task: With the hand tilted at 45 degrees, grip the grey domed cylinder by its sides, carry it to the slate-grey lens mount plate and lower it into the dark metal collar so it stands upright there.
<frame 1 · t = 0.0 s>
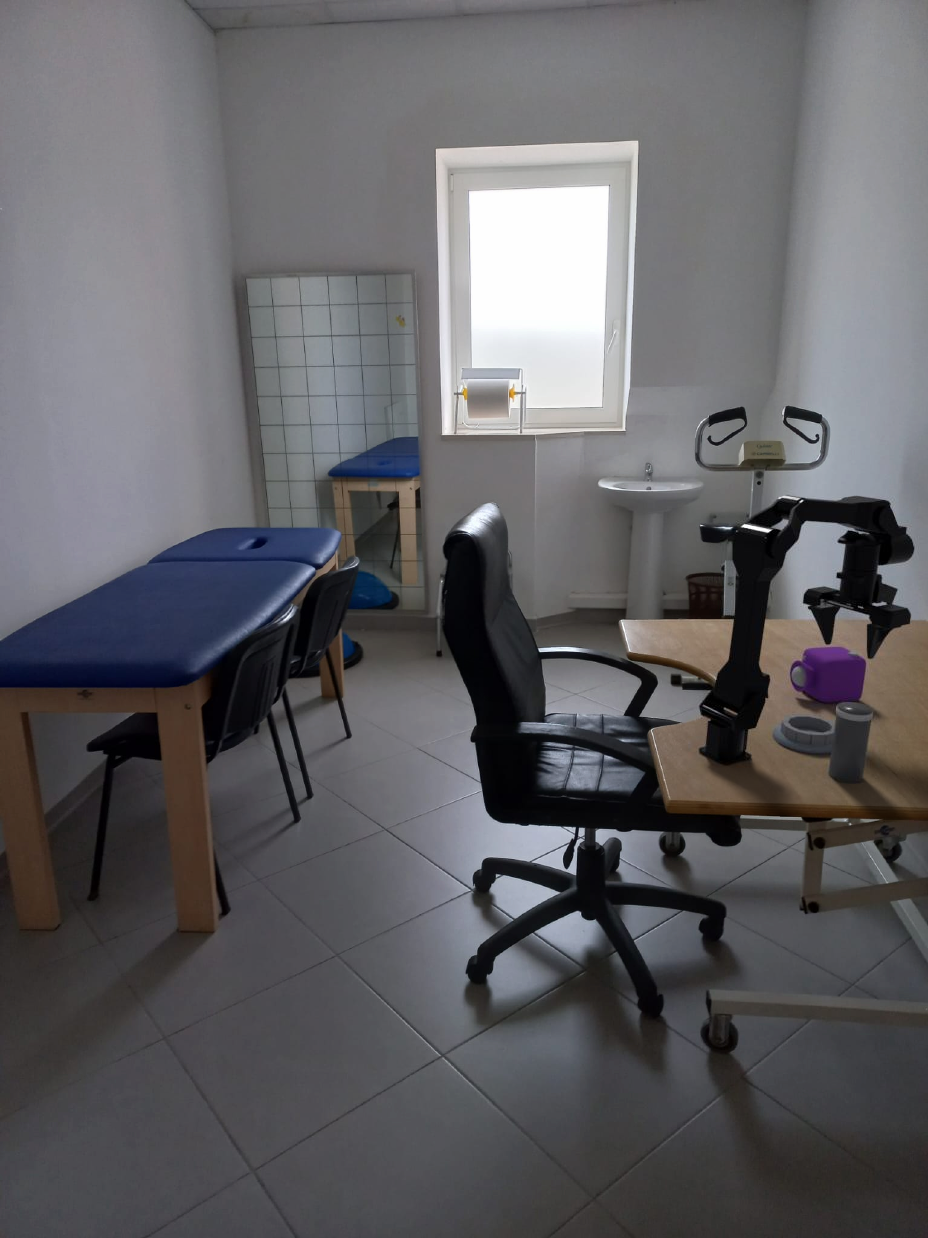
hand: (848, 651, 156), 15 cm above the table, tool pointing down, fingers open, 9 cm apart
grey domed cylinder: (845, 776, 140), on the table
toy camera: (822, 697, 174), on the table
lens mount: (807, 739, 153), on the table
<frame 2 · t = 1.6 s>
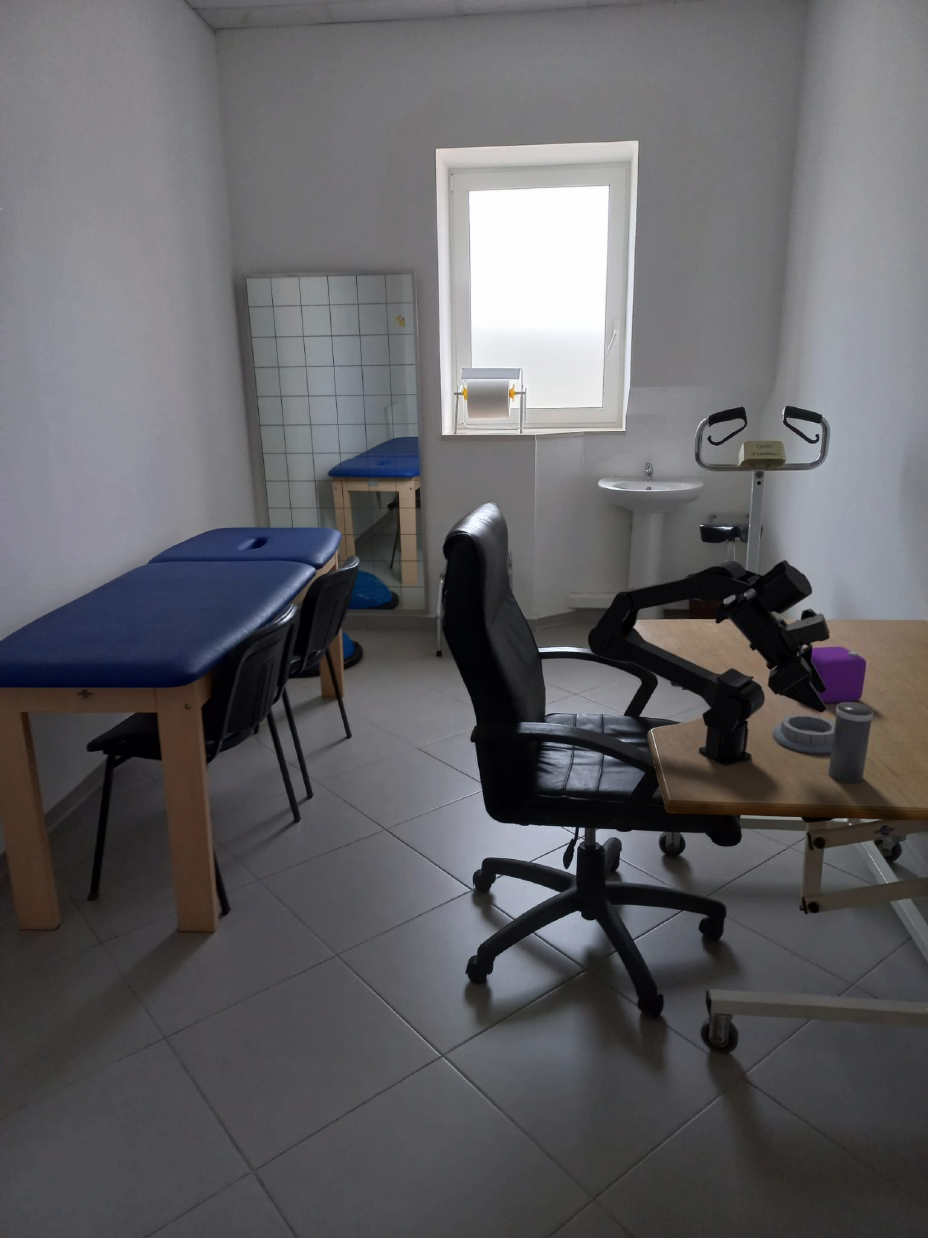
hand: (824, 700, 138), 12 cm above the table, tool tilted 45°, fingers open, 9 cm apart
nothing on the table moved.
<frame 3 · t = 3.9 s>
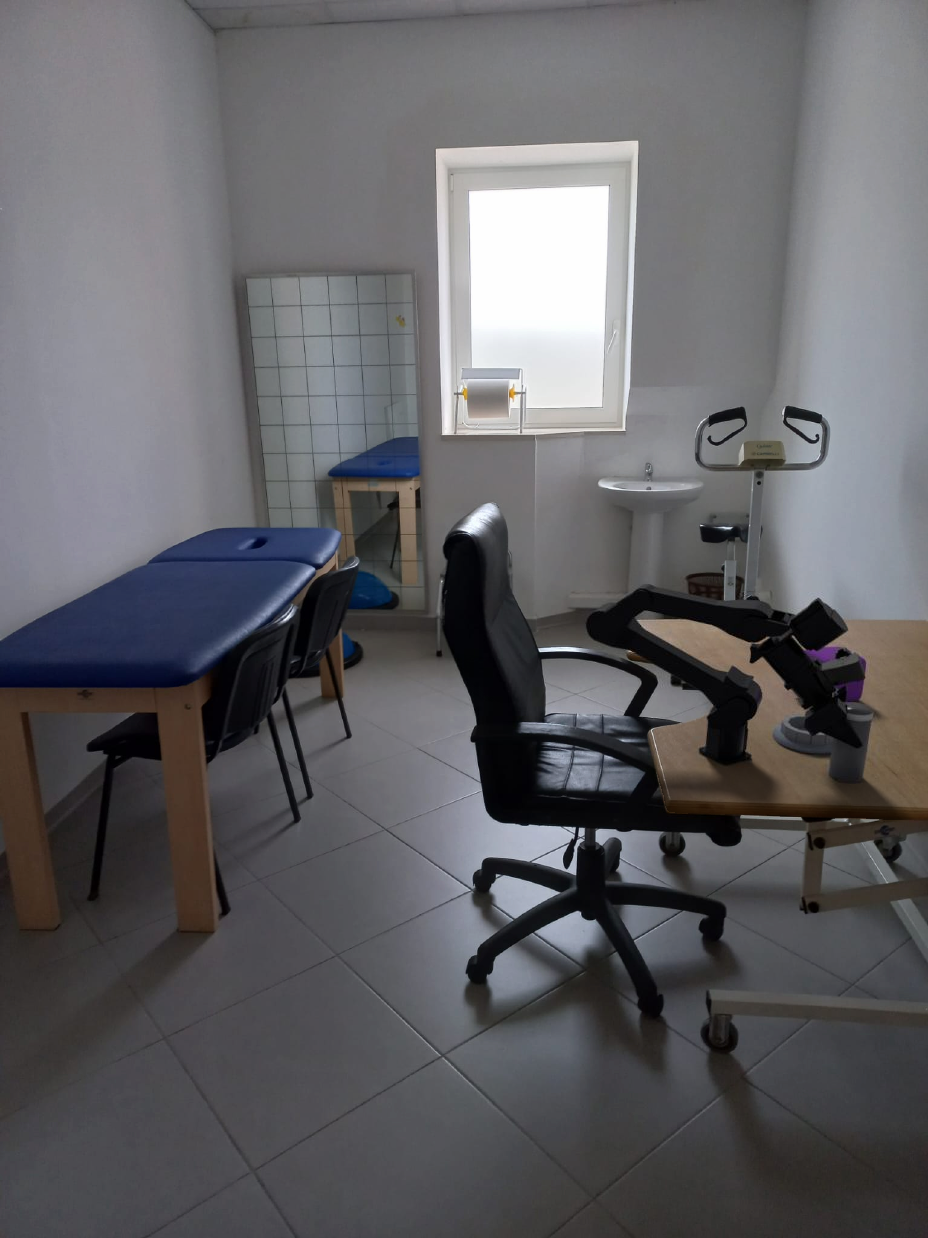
hand: (860, 740, 137), 7 cm above the table, tool tilted 45°, fingers closed on grey domed cylinder, 5 cm apart
grey domed cylinder: (845, 775, 140), on the table, touching gripper
everything else where it was.
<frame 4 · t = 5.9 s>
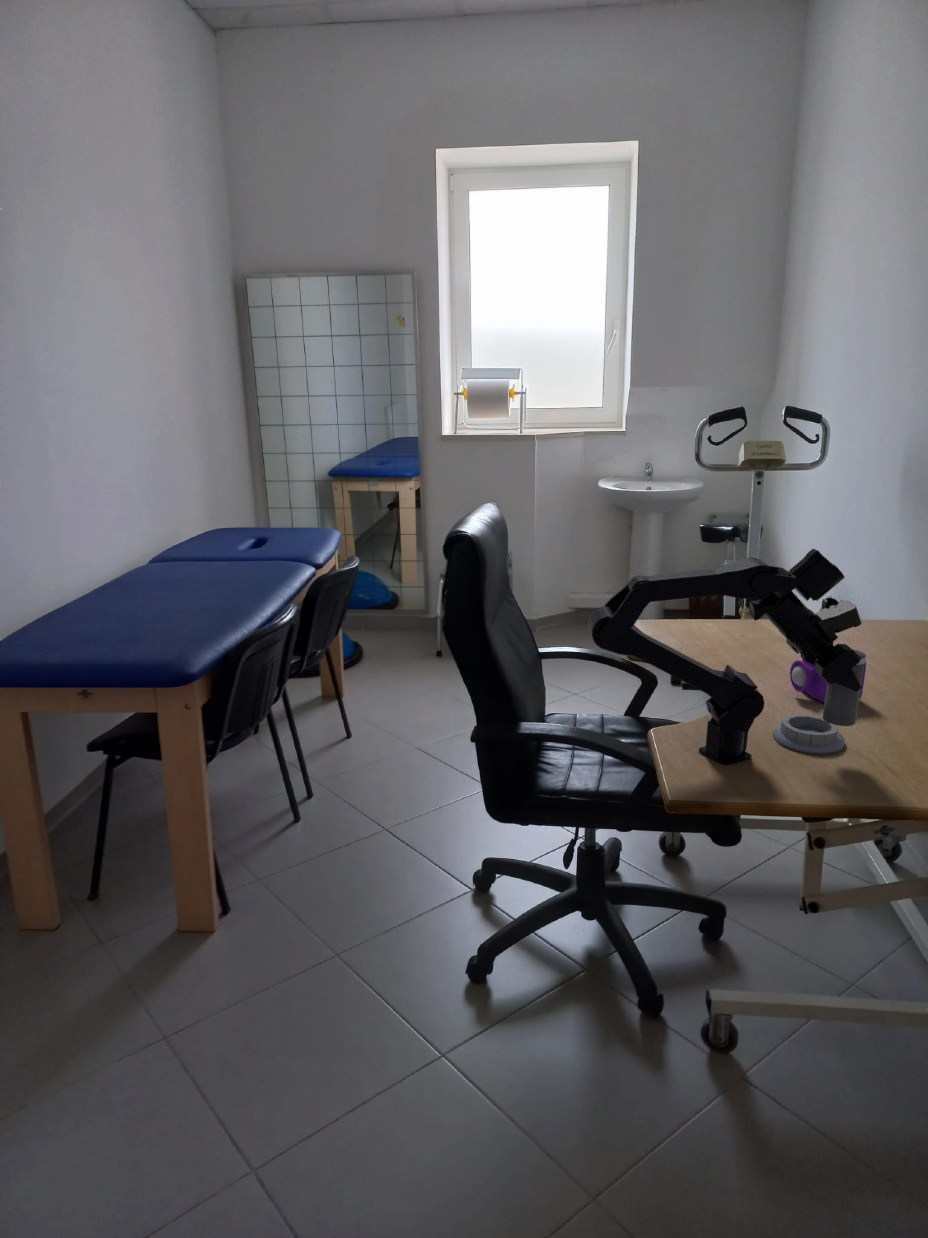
hand: (852, 683, 143), 13 cm above the table, tool tilted 45°, fingers closed on grey domed cylinder, 5 cm apart
grey domed cylinder: (838, 720, 145), point 7 cm above the table, touching gripper
everything else where it was.
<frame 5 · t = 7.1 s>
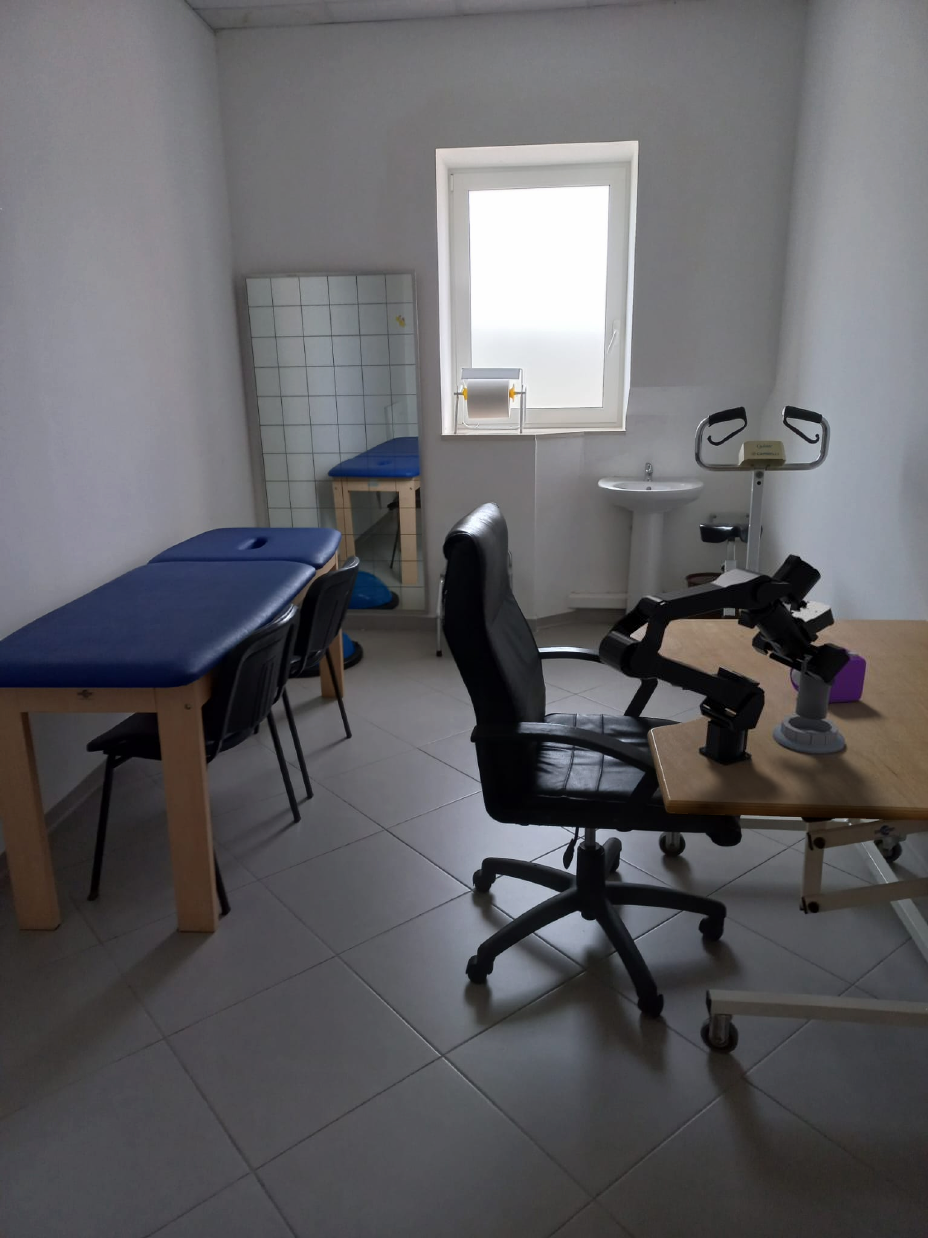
hand: (821, 678, 151), 12 cm above the table, tool tilted 45°, fingers closed on grey domed cylinder, 5 cm apart
grey domed cylinder: (810, 714, 152), point 5 cm above the table, touching gripper
everything else where it was.
when the fingers open (9 cm above the table, at t = 8.1 s): grey domed cylinder drops 1 cm, resting on lens mount.
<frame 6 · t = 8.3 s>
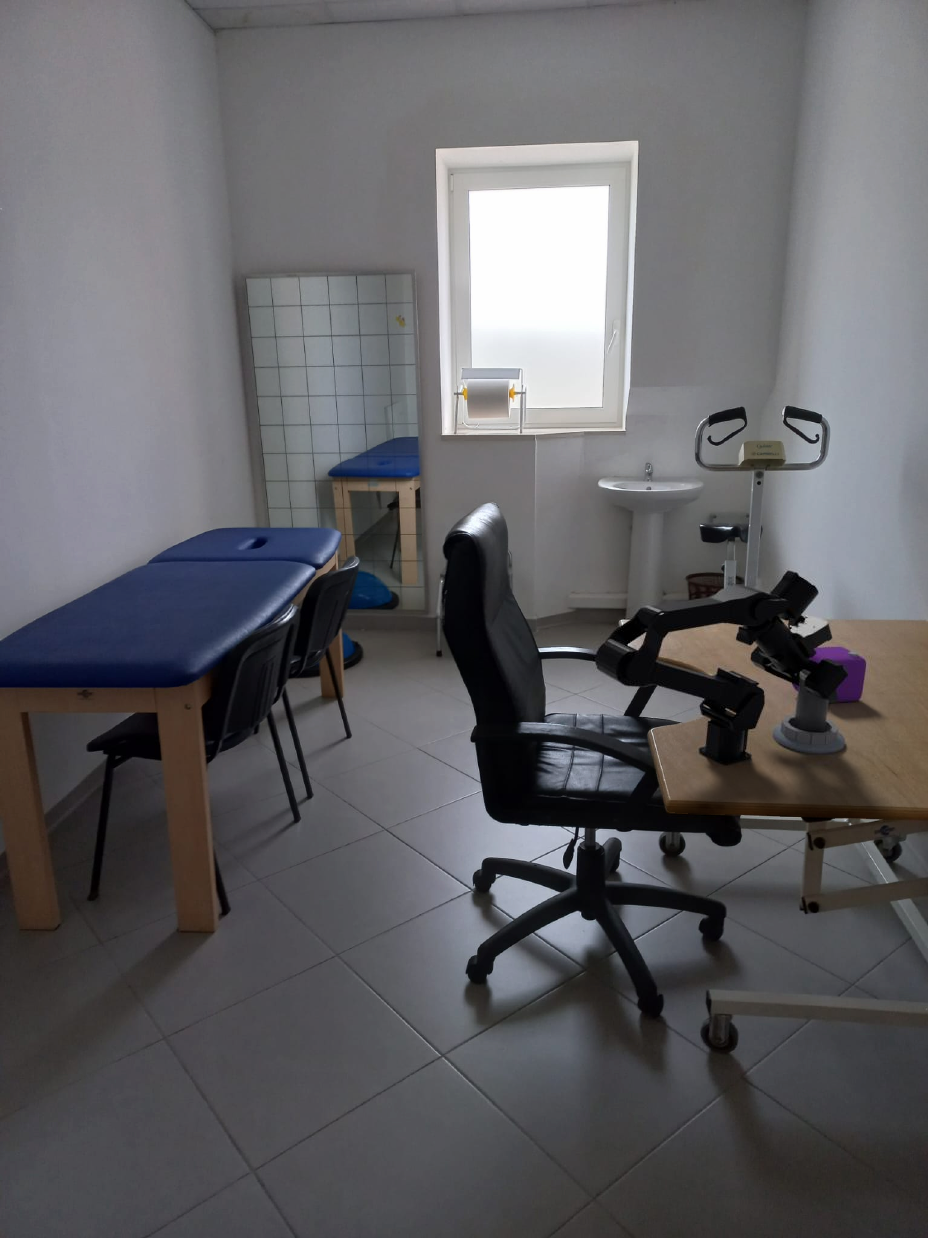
hand: (819, 692, 151), 9 cm above the table, tool tilted 45°, fingers open, 7 cm apart
grey domed cylinder: (808, 734, 153), point 1 cm above the table, touching lens mount
everything else where it was.
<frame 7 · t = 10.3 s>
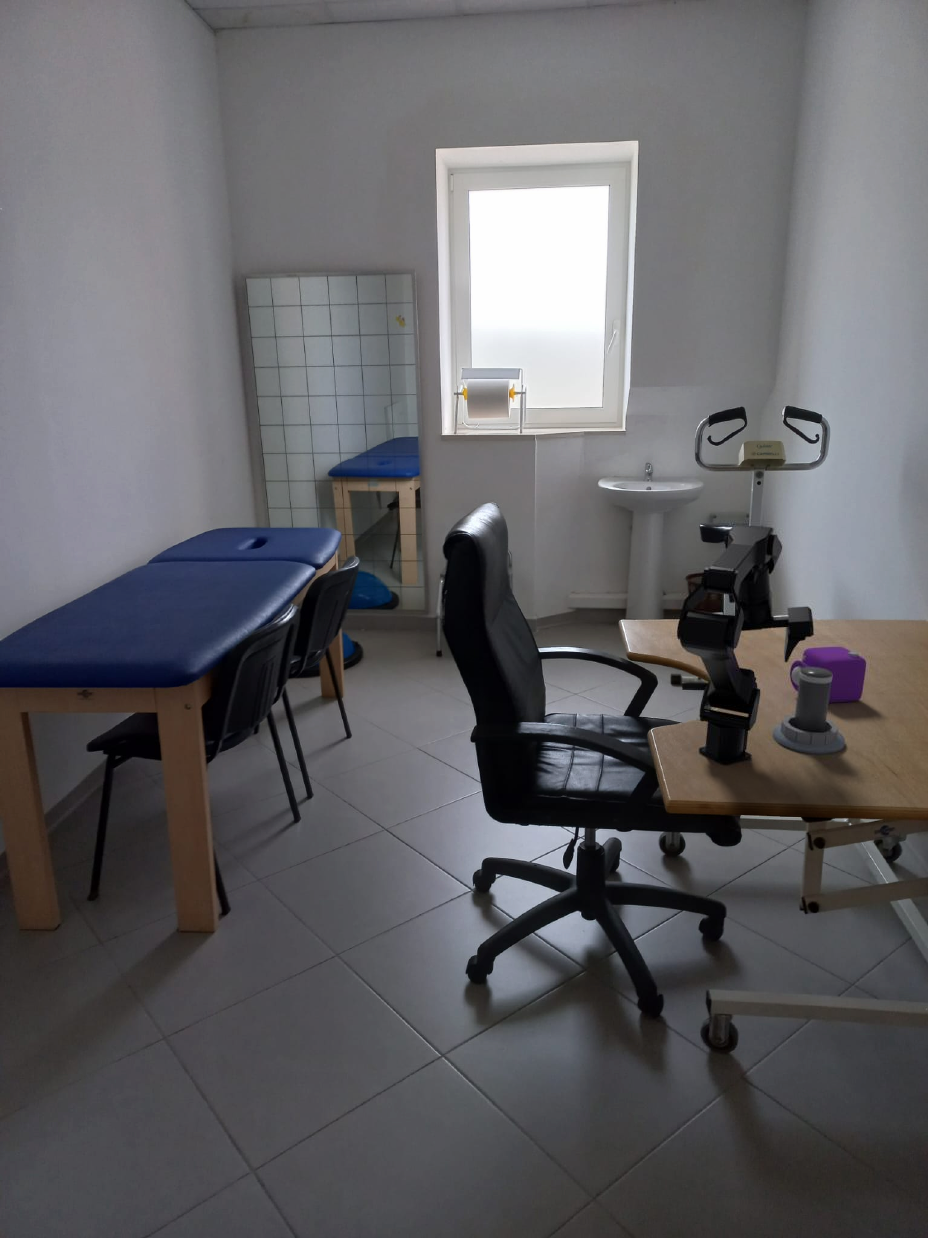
hand: (758, 662, 155), 13 cm above the table, tool tilted 20°, fingers open, 9 cm apart
nothing on the table moved.
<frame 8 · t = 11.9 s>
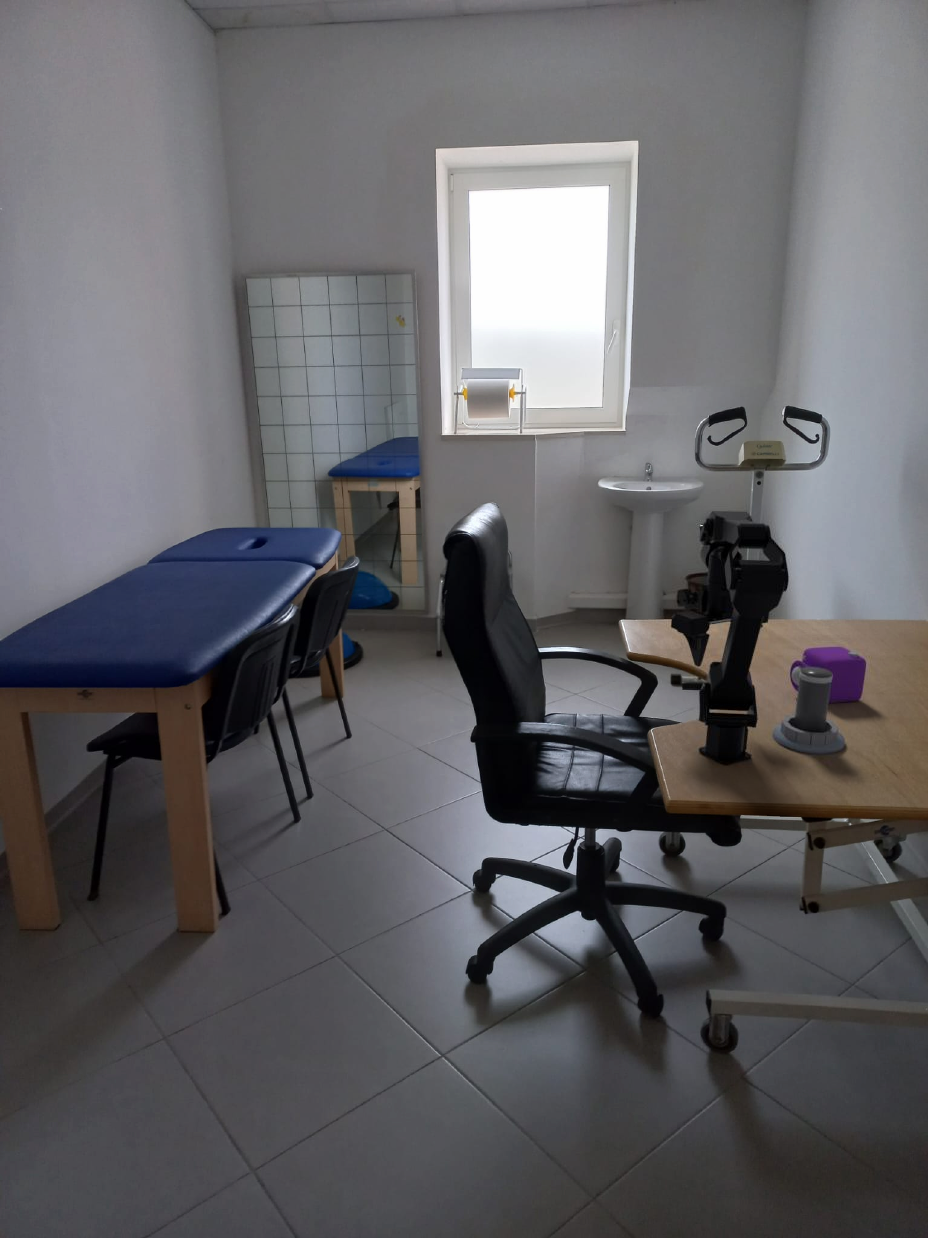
hand: (716, 662, 158), 12 cm above the table, tool pointing down, fingers open, 9 cm apart
nothing on the table moved.
at the end: grey domed cylinder 0.0 cm off-centre on the lens mount, point 1.0 cm above the lens mount's base; grey domed cylinder tilted 0°; the gripper is holding nothing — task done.
